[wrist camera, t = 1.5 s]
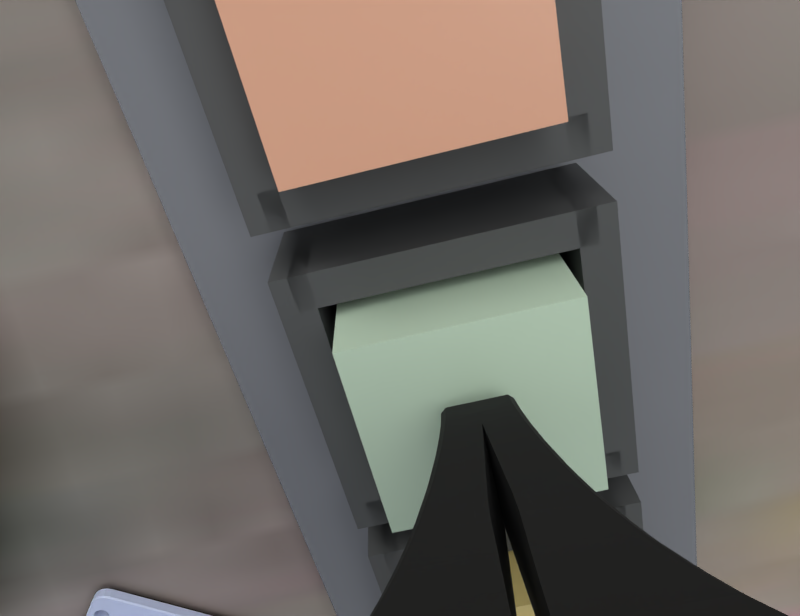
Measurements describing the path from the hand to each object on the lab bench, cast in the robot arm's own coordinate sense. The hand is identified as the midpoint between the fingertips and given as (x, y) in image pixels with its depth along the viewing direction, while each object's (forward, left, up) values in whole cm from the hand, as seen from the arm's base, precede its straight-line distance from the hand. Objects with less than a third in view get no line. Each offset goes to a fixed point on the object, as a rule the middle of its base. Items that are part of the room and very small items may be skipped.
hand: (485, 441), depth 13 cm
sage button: (0, 0, -3) cm, 3 cm away
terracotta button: (+6, +5, -3) cm, 9 cm away
